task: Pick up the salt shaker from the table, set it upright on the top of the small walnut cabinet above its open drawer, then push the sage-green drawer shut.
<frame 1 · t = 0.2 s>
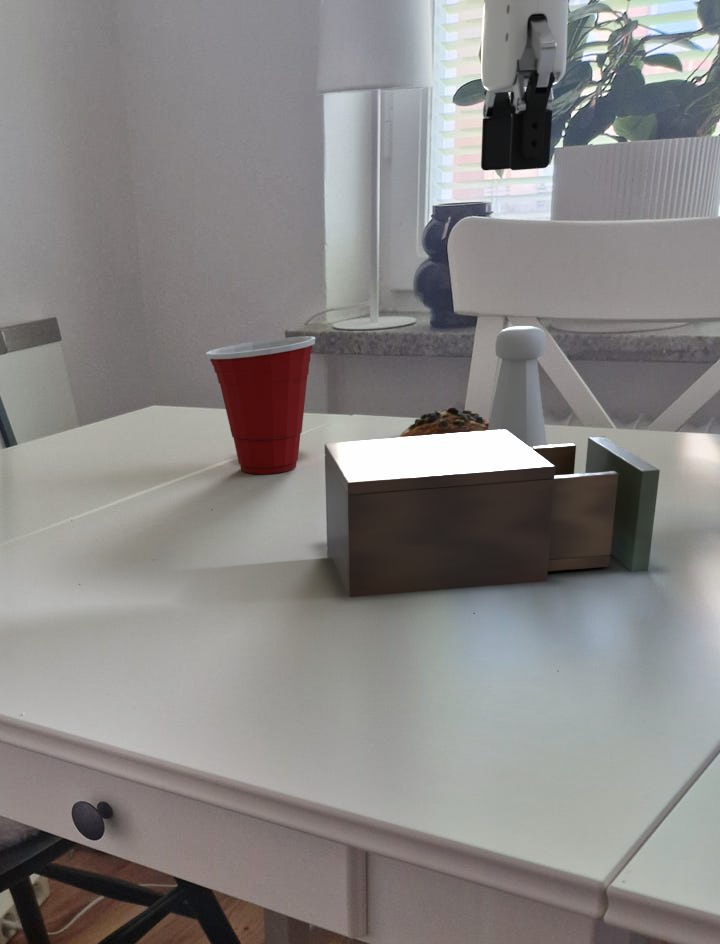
hand: (513, 169, 101), 25 cm above the table, tool pointing down, fingers open, 9 cm apart
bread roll: (449, 453, 120), on the table
plastic cup: (266, 469, 119), on the table
cabinet: (430, 575, 85), on the table
drawer: (547, 507, 83), point 4 cm above the table, slide at 6.0 cm
salt shaker: (513, 482, 108), on the table
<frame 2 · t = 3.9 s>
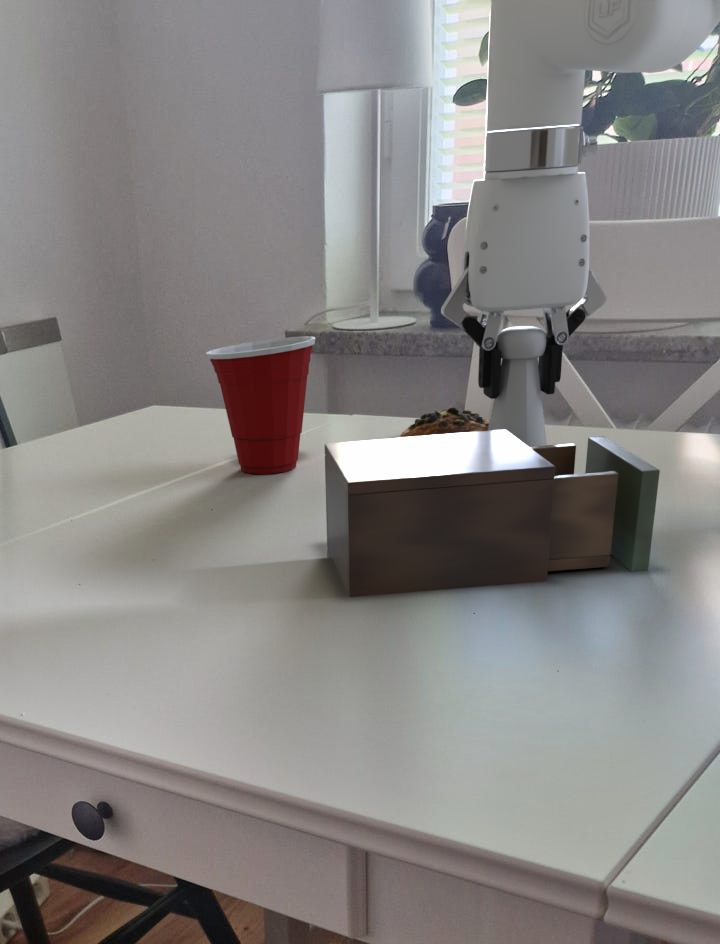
hand: (518, 391, 104), 8 cm above the table, tool pointing down, fingers closed on salt shaker, 4 cm apart
salt shaker: (513, 482, 108), on the table, touching gripper
everything else where it was.
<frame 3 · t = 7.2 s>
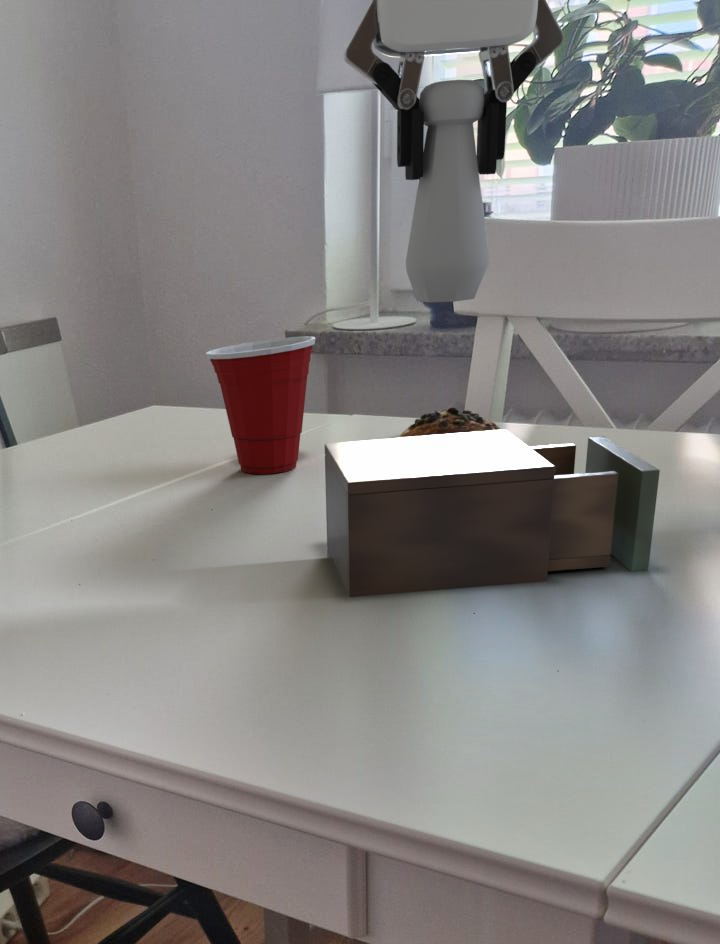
hand: (449, 173, 79), 25 cm above the table, tool pointing down, fingers closed on salt shaker, 4 cm apart
salt shaker: (446, 302, 83), point 17 cm above the table, touching gripper
everything else where it was.
when the fingers open (16 cm above the table, at t = 10.3 s): salt shaker stays where it is, resting on cabinet.
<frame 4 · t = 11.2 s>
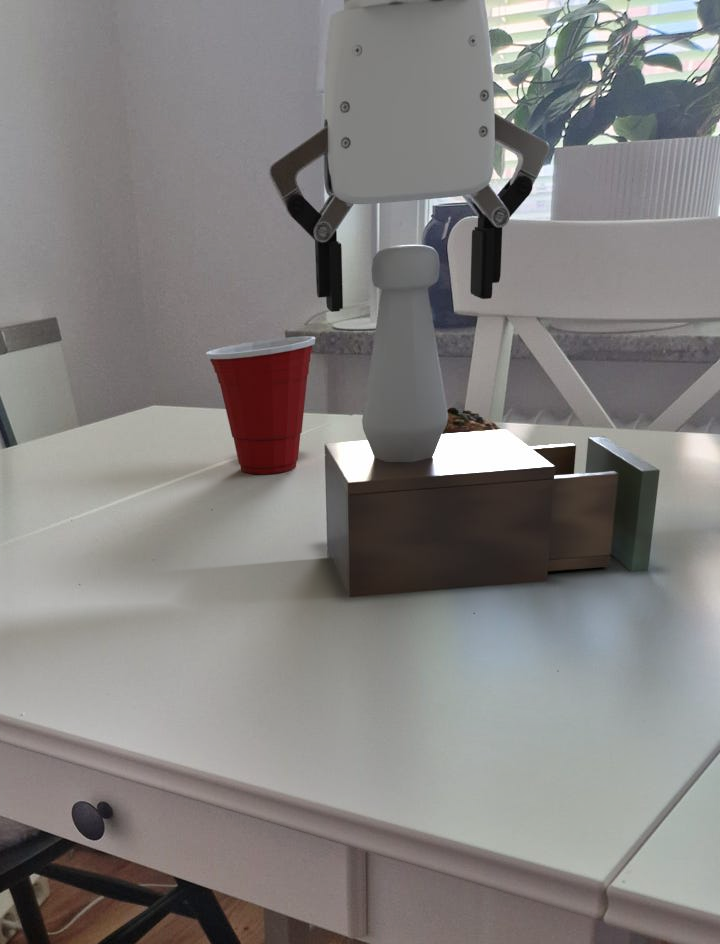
hand: (407, 303, 76), 18 cm above the table, tool pointing down, fingers open, 9 cm apart
salt shaker: (404, 458, 81), point 8 cm above the table, touching cabinet
everything else where it was.
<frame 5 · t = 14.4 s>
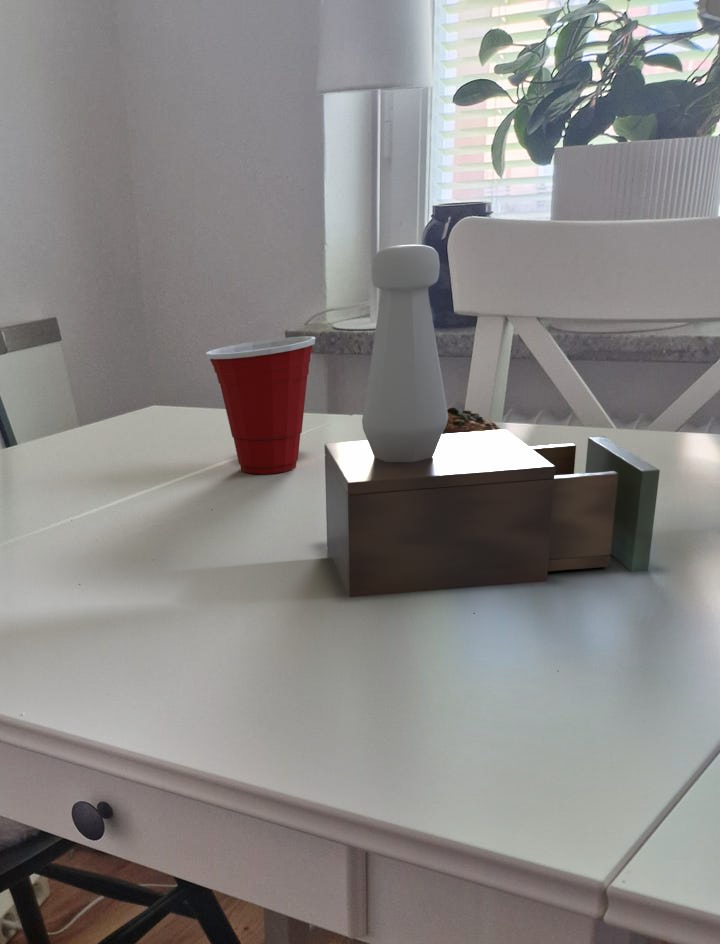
nothing on the table moved.
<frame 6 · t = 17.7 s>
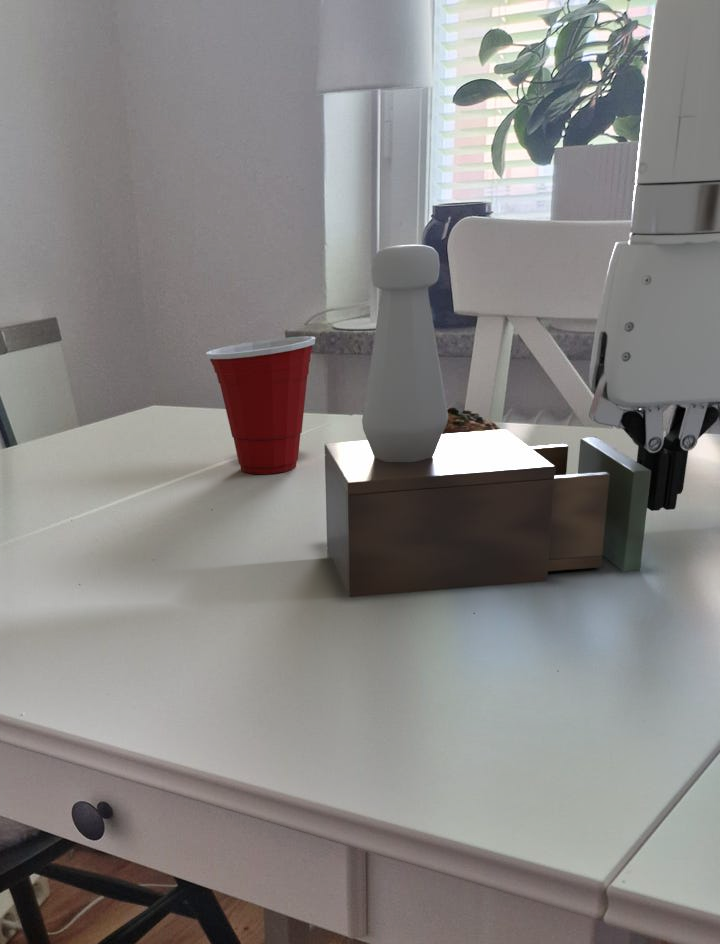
hand: (656, 505, 83), 4 cm above the table, tool pointing down, fingers closed
drawer: (539, 507, 83), point 4 cm above the table, slide at 5.4 cm, touching gripper
everything else where it was.
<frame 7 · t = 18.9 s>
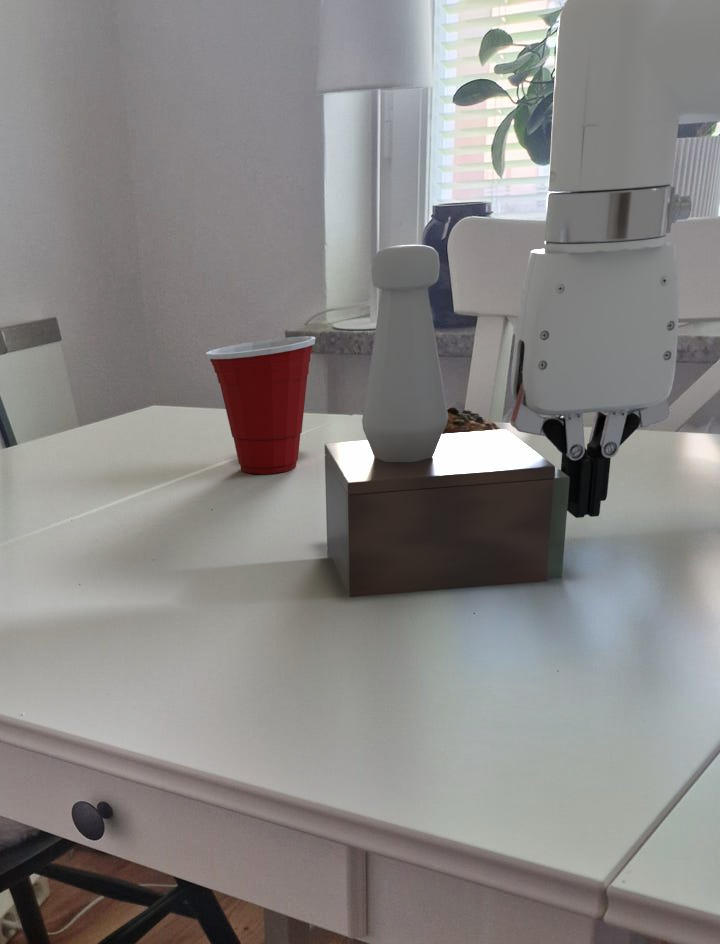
hand: (581, 511, 83), 4 cm above the table, tool pointing down, fingers closed
drawer: (463, 513, 83), point 4 cm above the table, slide at 0.0 cm, touching cabinet, gripper
everything else where it was.
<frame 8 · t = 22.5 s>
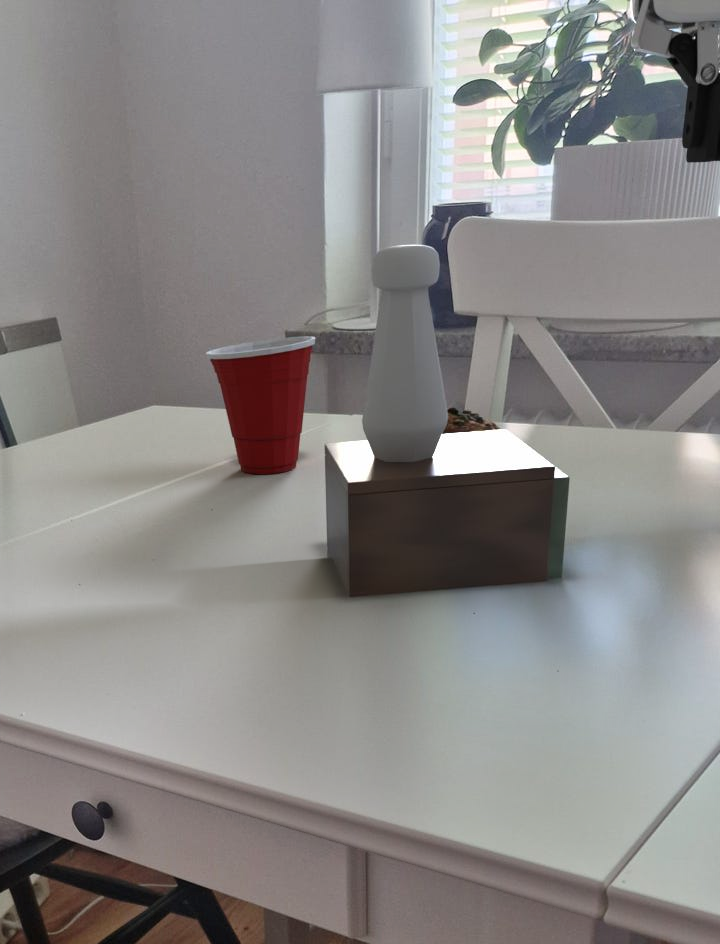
hand: (707, 160, 73), 25 cm above the table, tool pointing down, fingers closed
drawer: (463, 513, 83), point 4 cm above the table, slide at 0.0 cm, touching cabinet
everything else where it was.
at the end: salt shaker inside the target area on the cabinet (1.9 cm from its centre), point 8.4 cm above the cabinet's base; salt shaker tilted 0°; drawer slide at 0.0 cm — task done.
